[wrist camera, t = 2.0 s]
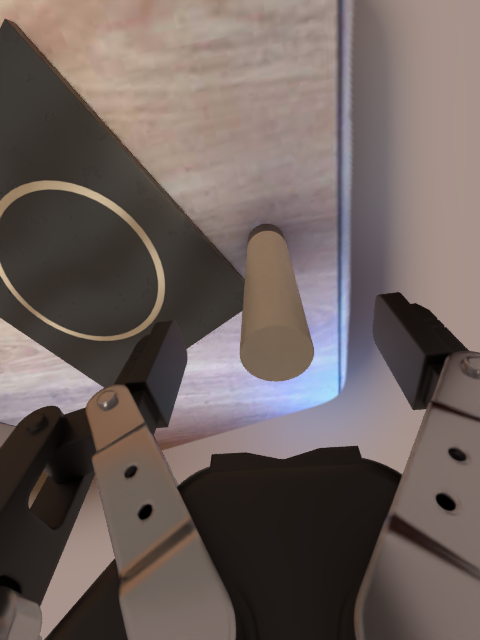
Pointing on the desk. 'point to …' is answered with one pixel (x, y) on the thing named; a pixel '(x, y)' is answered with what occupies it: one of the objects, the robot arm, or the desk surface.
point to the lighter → (5, 432)
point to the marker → (272, 311)
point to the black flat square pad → (92, 230)
